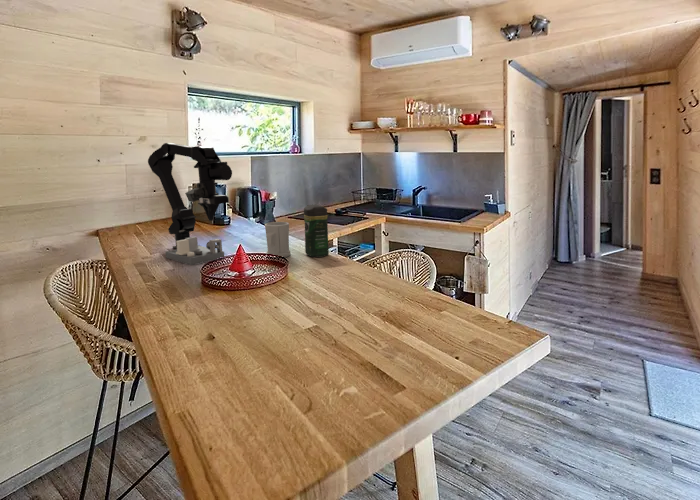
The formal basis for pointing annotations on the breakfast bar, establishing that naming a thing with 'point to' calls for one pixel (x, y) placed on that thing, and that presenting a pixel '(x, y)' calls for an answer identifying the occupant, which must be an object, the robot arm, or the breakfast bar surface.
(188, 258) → the console
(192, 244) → the white stepped block
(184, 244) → the cream flanged block
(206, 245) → the plunger
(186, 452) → the breakfast bar surface
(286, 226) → the cup
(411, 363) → the breakfast bar surface
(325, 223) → the coffee jar
